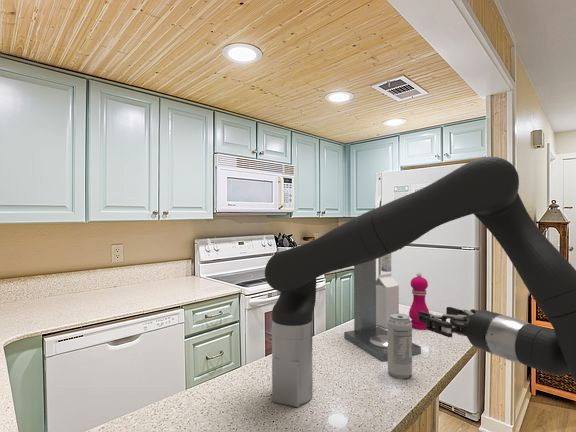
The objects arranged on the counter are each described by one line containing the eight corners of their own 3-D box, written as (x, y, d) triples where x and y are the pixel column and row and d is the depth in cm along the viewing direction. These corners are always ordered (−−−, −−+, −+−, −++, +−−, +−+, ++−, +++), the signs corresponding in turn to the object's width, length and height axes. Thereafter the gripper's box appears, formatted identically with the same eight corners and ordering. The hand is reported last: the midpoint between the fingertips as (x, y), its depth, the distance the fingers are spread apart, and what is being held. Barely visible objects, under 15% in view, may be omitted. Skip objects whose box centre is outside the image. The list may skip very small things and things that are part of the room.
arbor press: (441, 349, 104) (440, 238, 104) (382, 361, 95) (382, 240, 95) (396, 329, 122) (396, 235, 122) (344, 337, 114) (343, 236, 114)
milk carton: (399, 325, 127) (398, 274, 127) (386, 328, 123) (386, 276, 123) (383, 320, 133) (383, 272, 133) (371, 323, 129) (371, 273, 129)
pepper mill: (433, 330, 121) (433, 274, 121) (412, 330, 121) (412, 274, 121) (425, 323, 128) (425, 271, 129) (406, 323, 129) (406, 271, 129)
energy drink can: (407, 368, 90) (407, 312, 91) (415, 379, 84) (415, 319, 85) (384, 368, 91) (384, 312, 91) (391, 379, 85) (391, 319, 85)
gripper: (527, 310, 65) (455, 293, 80) (474, 320, 60) (408, 300, 75) (527, 349, 65) (456, 325, 80) (475, 362, 60) (409, 334, 75)
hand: (433, 313), depth 77 cm, fingers open, 8 cm apart
